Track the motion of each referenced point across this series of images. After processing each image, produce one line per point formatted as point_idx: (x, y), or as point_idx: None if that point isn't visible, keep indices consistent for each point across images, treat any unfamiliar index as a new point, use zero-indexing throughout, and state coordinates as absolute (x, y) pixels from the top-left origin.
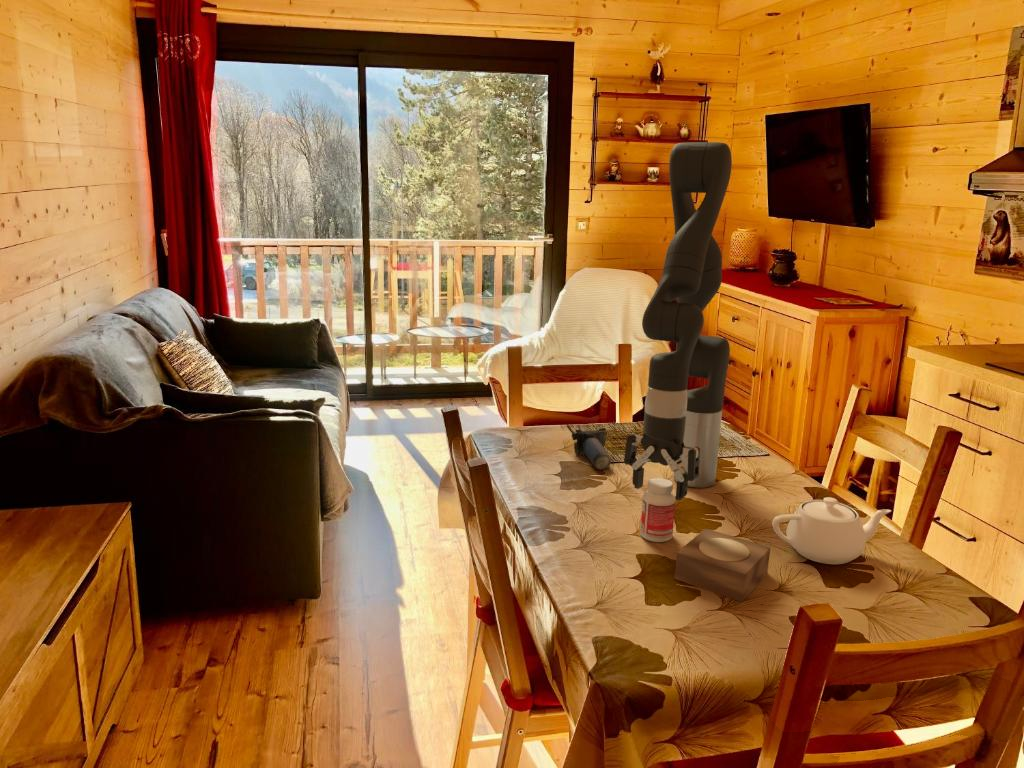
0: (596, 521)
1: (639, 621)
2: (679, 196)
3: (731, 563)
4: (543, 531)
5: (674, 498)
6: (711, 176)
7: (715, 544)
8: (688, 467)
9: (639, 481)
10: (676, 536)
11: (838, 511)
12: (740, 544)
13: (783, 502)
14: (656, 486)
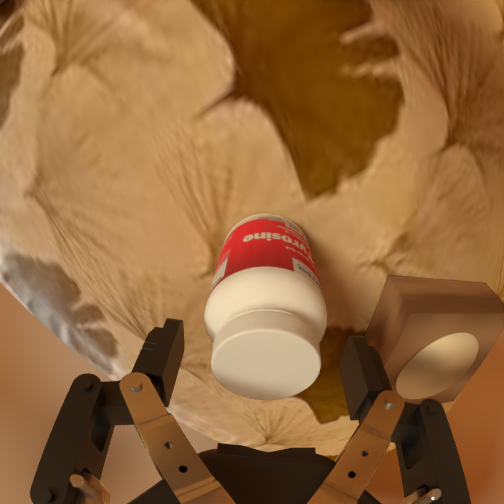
0: (110, 253)
1: (321, 441)
2: None
3: (441, 392)
4: (81, 334)
5: (325, 323)
6: None
7: (426, 366)
8: (404, 476)
9: (177, 361)
10: (314, 225)
11: None
12: (470, 339)
13: None
14: (266, 399)
